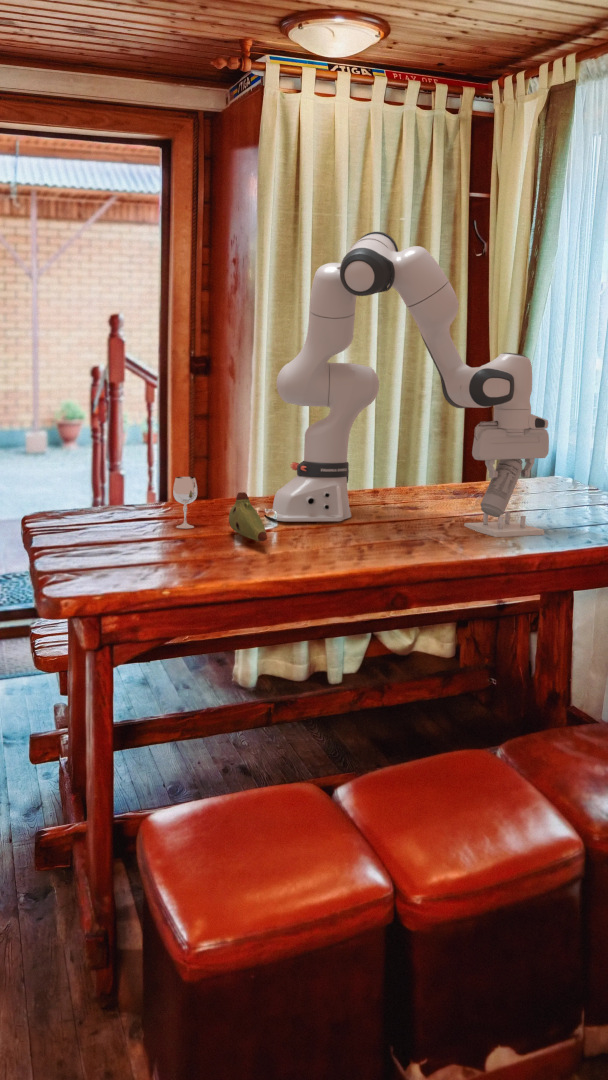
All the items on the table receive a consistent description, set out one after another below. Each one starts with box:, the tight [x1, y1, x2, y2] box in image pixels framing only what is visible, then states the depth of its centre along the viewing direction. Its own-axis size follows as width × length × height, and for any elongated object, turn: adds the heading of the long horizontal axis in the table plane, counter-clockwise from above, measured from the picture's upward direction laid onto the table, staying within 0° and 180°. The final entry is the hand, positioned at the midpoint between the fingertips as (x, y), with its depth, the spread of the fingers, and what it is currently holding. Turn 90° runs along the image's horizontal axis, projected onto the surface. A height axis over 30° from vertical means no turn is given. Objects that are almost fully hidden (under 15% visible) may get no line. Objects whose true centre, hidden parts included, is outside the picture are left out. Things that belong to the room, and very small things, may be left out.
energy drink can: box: [480, 459, 523, 518], centre depth 222 cm, size 6×6×15 cm
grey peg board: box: [463, 511, 545, 538], centre depth 224 cm, size 14×14×4 cm
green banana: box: [228, 491, 268, 542], centre depth 206 cm, size 20×5×10 cm, turn 27°
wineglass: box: [172, 476, 198, 529], centre depth 217 cm, size 6×6×12 cm
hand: (509, 477), depth 222 cm, fingers open, 8 cm apart
